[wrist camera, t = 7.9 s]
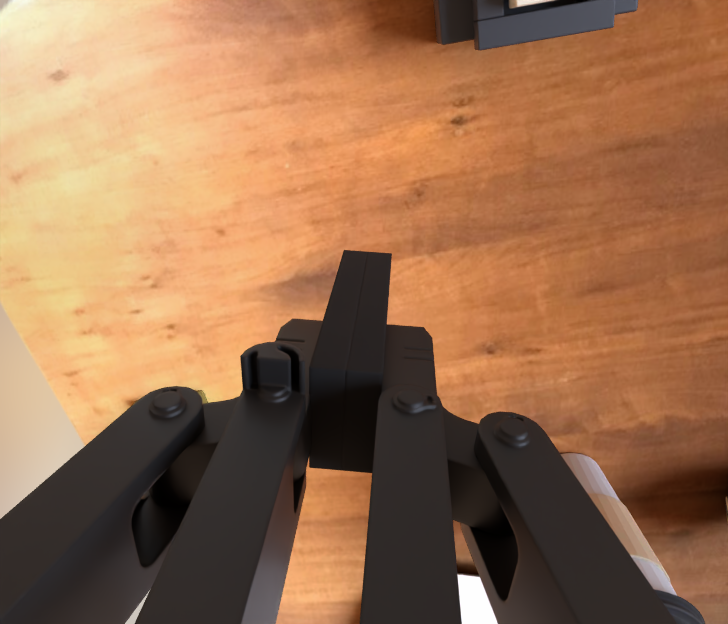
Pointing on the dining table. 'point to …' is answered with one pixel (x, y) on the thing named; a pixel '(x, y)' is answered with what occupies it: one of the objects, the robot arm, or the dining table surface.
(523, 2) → the key
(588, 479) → the coffee cup
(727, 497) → the headphones
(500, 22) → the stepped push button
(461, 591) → the plate
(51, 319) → the dining table surface
